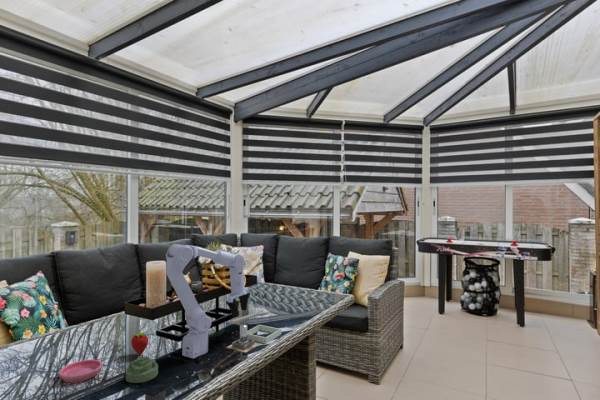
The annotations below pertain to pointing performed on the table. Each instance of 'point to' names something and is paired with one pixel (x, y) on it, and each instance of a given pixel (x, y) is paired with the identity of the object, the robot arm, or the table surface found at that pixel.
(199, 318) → the robot arm
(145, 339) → the strawberry
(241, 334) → the strut
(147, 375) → the decorative artifact
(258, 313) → the adjustable wrench
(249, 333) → the bin
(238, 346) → the socket block
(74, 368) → the saucer
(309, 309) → the table surface
